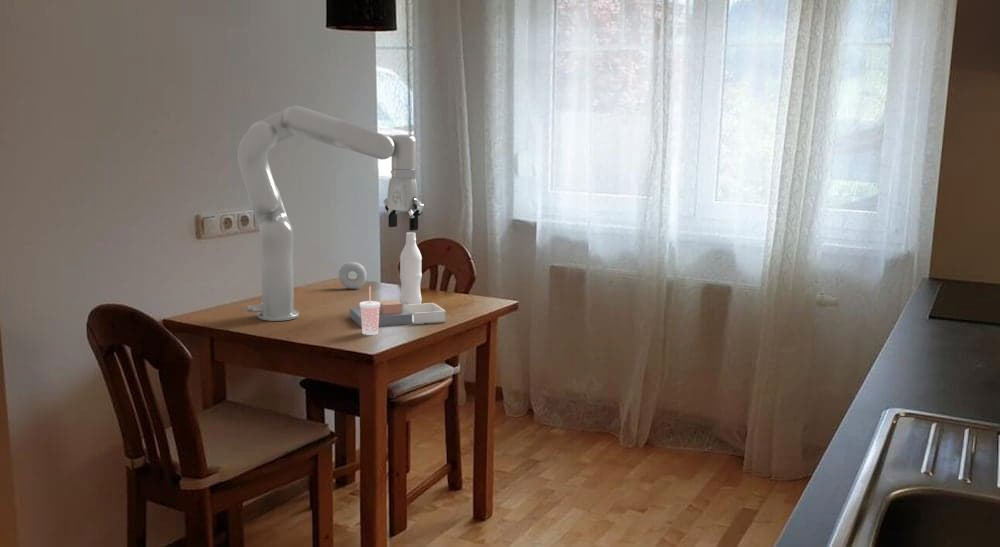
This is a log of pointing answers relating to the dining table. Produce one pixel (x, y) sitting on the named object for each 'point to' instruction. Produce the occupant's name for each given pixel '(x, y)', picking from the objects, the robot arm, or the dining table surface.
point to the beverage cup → (370, 316)
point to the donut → (345, 271)
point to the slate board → (384, 317)
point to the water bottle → (410, 271)
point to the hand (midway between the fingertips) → (403, 228)
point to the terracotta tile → (390, 307)
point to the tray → (426, 313)
